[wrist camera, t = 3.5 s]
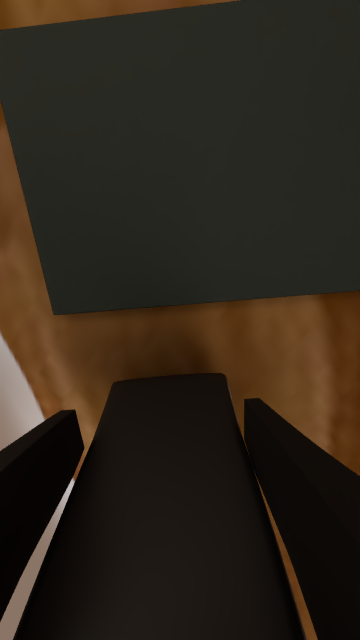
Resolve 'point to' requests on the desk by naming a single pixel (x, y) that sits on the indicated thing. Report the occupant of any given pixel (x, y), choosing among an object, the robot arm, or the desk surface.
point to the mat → (190, 152)
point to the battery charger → (164, 528)
